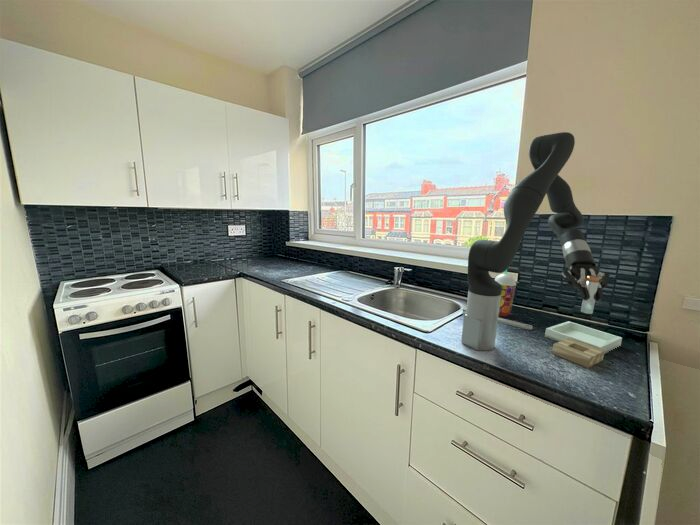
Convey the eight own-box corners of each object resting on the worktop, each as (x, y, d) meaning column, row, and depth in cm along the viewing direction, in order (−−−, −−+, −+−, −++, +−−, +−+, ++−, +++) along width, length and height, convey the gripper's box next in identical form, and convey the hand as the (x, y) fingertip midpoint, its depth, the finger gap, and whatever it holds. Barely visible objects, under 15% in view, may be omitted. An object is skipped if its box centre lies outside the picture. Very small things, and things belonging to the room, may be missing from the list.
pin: (590, 314, 89) (596, 278, 87) (578, 311, 92) (585, 275, 90) (594, 312, 91) (601, 277, 89) (583, 309, 94) (589, 274, 91)
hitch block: (587, 368, 77) (589, 357, 77) (551, 353, 85) (553, 344, 84) (602, 360, 81) (604, 350, 81) (567, 347, 89) (568, 338, 89)
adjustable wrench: (533, 329, 103) (533, 325, 103) (529, 334, 99) (529, 330, 98) (465, 311, 120) (465, 307, 120) (459, 315, 116) (459, 311, 115)
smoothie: (492, 309, 123) (498, 264, 119) (514, 313, 117) (520, 267, 114) (487, 314, 117) (492, 267, 113) (509, 319, 111) (515, 270, 108)
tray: (598, 356, 83) (600, 347, 83) (544, 336, 96) (545, 328, 96) (620, 346, 90) (622, 337, 90) (567, 328, 103) (568, 321, 103)
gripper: (560, 248, 96) (574, 292, 87) (607, 250, 94) (627, 295, 84) (550, 260, 102) (562, 303, 93) (594, 262, 100) (611, 306, 90)
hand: (593, 299), depth 89 cm, fingers closed on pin, 3 cm apart
